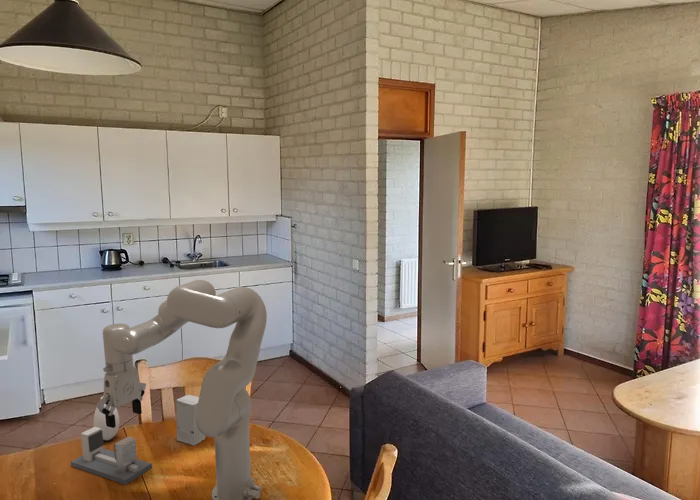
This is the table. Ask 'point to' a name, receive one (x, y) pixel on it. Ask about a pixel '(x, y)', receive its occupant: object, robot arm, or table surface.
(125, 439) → the left finger
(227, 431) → the robot arm
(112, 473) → the rail base
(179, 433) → the skincare box
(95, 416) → the sauce bottle
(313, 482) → the table surface
